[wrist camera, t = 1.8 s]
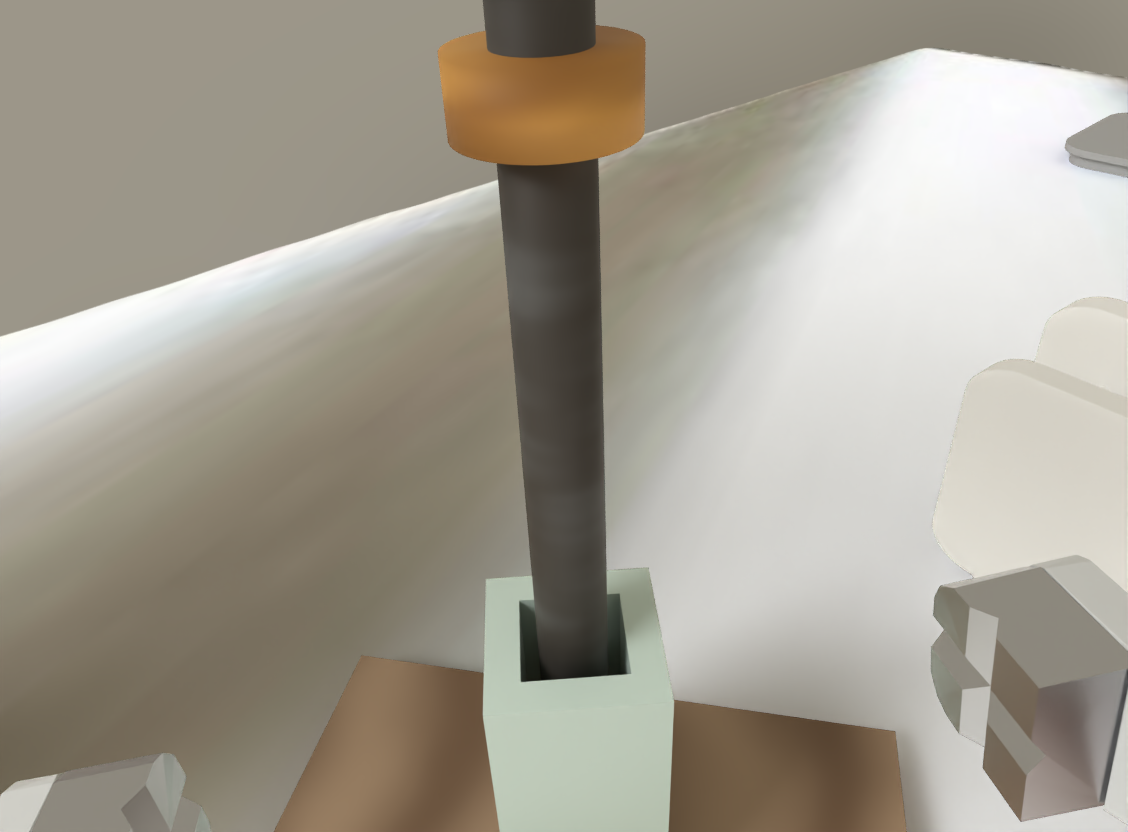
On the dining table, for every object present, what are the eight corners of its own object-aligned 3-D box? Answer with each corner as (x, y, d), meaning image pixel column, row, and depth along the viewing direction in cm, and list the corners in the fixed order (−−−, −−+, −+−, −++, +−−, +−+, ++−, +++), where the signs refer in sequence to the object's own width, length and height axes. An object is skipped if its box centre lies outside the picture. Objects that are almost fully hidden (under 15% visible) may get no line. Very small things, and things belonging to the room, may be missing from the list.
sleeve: (506, 879, 28) (482, 715, 23) (506, 740, 32) (485, 578, 27) (666, 867, 28) (674, 702, 23) (645, 730, 32) (648, 567, 27)
